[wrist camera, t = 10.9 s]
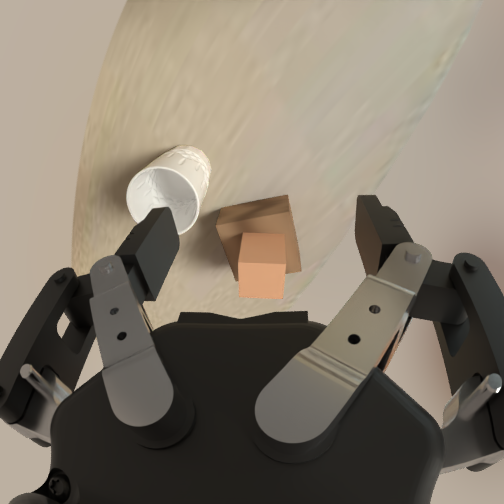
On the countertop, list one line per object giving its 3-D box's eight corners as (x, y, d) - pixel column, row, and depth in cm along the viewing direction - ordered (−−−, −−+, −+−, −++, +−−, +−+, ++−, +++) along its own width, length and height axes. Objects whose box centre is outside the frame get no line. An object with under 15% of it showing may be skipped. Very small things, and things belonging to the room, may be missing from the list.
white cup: (222, 191, 38) (208, 231, 30) (167, 201, 40) (141, 241, 31) (207, 134, 34) (186, 158, 26) (150, 148, 35) (115, 177, 27)
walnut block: (287, 193, 38) (289, 211, 34) (299, 249, 43) (301, 271, 39) (221, 207, 40) (215, 225, 36) (239, 259, 45) (236, 281, 41)
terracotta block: (284, 233, 36) (286, 264, 31) (281, 266, 39) (282, 298, 34) (242, 232, 36) (238, 262, 31) (243, 265, 39) (239, 297, 34)
